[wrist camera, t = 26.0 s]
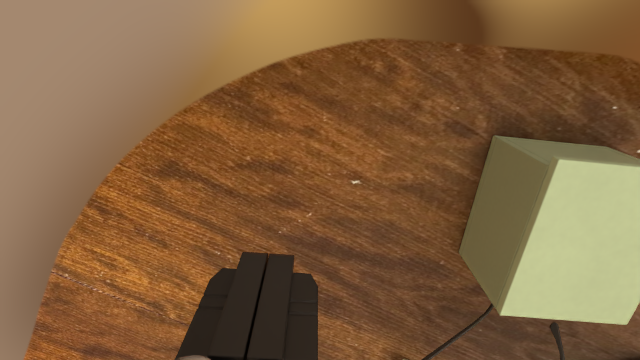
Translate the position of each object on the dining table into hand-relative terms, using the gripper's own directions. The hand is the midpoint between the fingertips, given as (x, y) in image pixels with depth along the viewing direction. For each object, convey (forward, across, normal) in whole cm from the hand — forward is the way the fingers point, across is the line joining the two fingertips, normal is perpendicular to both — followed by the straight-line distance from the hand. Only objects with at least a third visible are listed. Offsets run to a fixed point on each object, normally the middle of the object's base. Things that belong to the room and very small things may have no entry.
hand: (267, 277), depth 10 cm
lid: (+16, -25, +7) cm, 30 cm away
